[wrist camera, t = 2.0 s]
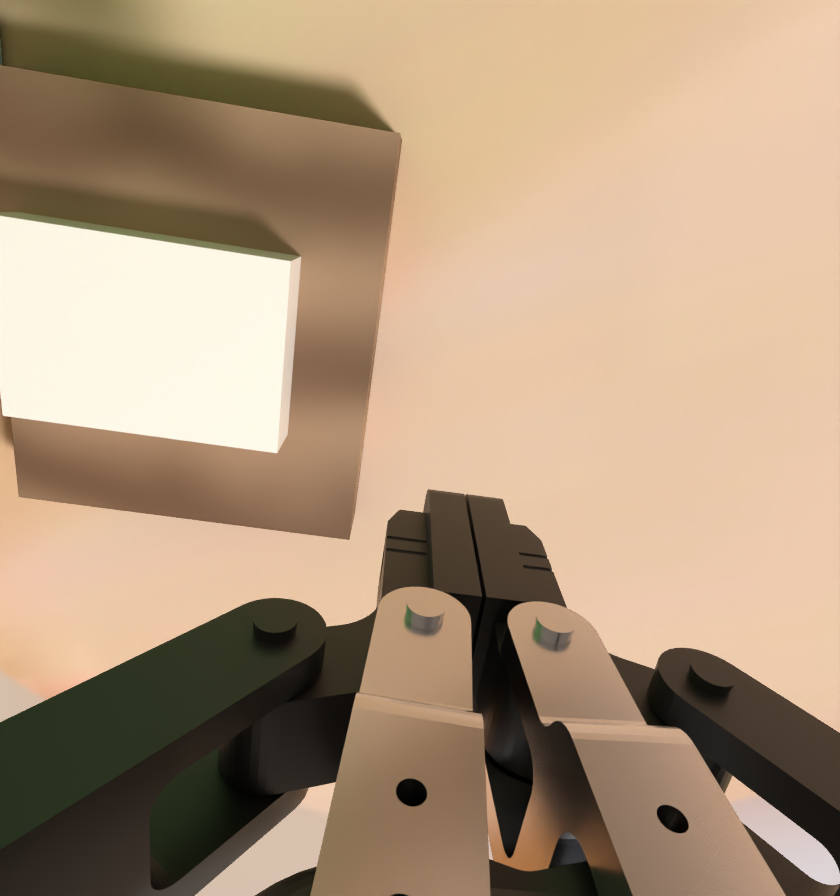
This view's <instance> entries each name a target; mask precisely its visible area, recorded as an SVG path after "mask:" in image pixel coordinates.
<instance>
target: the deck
mask: <svg viewBox="0 0 840 896" xmlns="http://www.w3.org/2000/svg"><path fill="white" fill-rule="evenodd" d="M401 143H402V139H401V134H400V133H396V132H390V131H384V130H378V129H372V128H366V127H361V126H355V125H349V124H343V123H337V122H331V121H325V120H320V119H314V118H308V117H302V116H296V115H290V114H284V113H279V112H273V111H267V110H261V109H255V108H249V107H243V106H238V105H232V104H226V103H220V102H214V101H208V100H202V99H197V98H191V97H185V96H179V95H173V94H167V93H161V92H156V91H150V90H144V89H138V88H132V87H126V86H120V85H115V84H109V83H103V82H97V81H91V80H85V79H79V78H74V77H68V76H62V75H56V74H50V73H44V72H38V71H33V70H27V69H21V68H15V67H9V66H3V65H0V212H22V213H28V214H35V215H41V216H47V217H54V218H60V219H67V220H73V221H79V222H86V223H92V224H98V225H105V226H111V227H118V228H124V229H130V230H137V231H143V232H149V233H156V234H162V235H168V236H175V237H181V238H188V239H194V240H200V241H207V242H213V243H219V244H226V245H232V246H239V247H245V248H251V249H258V250H264V251H270V252H277V253H283V254H290V255H296V256H301V267H300V280H299V293H298V306H297V319H296V332H295V345H294V358H293V371H292V384H291V397H290V410H289V423H288V435H287V437H286V438H285V440H284V442H283V444H282V446H281V447H280V449H279V451H278V453H271V452H263V451H256V450H249V449H242V448H234V447H227V446H220V445H212V444H205V443H198V442H191V441H183V440H176V439H169V438H161V437H154V436H147V435H140V434H132V433H125V432H118V431H110V430H103V429H96V428H89V427H81V426H74V425H67V424H59V423H52V422H45V421H38V420H30V419H23V418H16V417H11V425H12V435H13V445H14V454H15V464H16V474H17V484H18V493H19V497H23V498H31V499H38V500H46V501H54V502H61V503H69V504H77V505H85V506H92V507H100V508H108V509H115V510H123V511H131V512H139V513H146V514H154V515H162V516H169V517H177V518H185V519H193V520H200V521H208V522H216V523H223V524H231V525H239V526H247V527H254V528H262V529H270V530H277V531H285V532H293V533H301V534H308V535H316V536H324V537H331V538H339V539H347V540H349V539H350V534H351V529H352V524H353V519H354V514H355V506H356V498H357V491H358V483H359V475H360V467H361V459H362V451H363V443H364V435H365V427H366V420H367V412H368V404H369V396H370V388H371V380H372V372H373V364H374V356H375V349H376V341H377V333H378V325H379V317H380V309H381V301H382V293H383V285H384V278H385V270H386V262H387V254H388V246H389V238H390V230H391V222H392V214H393V206H394V199H395V191H396V183H397V175H398V167H399V159H400V151H401Z"/></svg>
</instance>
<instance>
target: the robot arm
mask: <svg viewBox="0 0 840 896" xmlns="http://www.w3.org/2000/svg"><path fill="white" fill-rule="evenodd" d="M732 775H733V776H734V777H735V778H737V779H738V780H739V781H741V782H742V783H743V784H745V785H746V786H747V787H748V788H750V789H751V790H752V791H754V792H755V793H756V794H758V795H759V796H760V797H762V798H763V799H764V800H766V801H767V802H768V803H769V804H771V805H772V806H773V807H775V808H776V809H778V810H779V811H780V812H781V813H783V814H784V815H785V816H787V817H788V818H789V819H791V820H792V821H793V822H794V823H796V824H797V825H798V826H800V827H801V828H802V829H804V830H805V831H806V832H807V833H809V834H810V835H812V836H813V837H814V838H816V839H817V840H818V841H819V842H820V843H821V844H822V845H823V846H824V847H825V848H826V849H827V850H828V851H829V852H830V854H831V855H832V857H833V858H834V860H835V861H836V864H837V865H838V868H839V871H840V733H839V732H837V731H836V730H834V729H833V728H831V727H829V726H828V725H826V724H825V723H823V722H821V721H820V720H818V719H817V718H815V717H814V716H812V715H810V714H809V713H807V712H806V711H804V710H803V709H801V708H799V707H798V706H796V705H795V704H793V703H791V702H790V701H788V700H787V699H785V698H784V697H782V696H780V695H779V694H777V693H776V692H774V691H773V690H771V689H769V688H768V687H766V686H765V685H763V684H762V683H760V682H758V681H757V680H755V679H754V678H752V677H750V676H749V675H747V674H746V673H744V672H743V671H741V670H739V669H738V668H736V667H735V666H733V665H732V664H730V663H728V662H726V661H725V660H723V659H721V658H719V657H716V656H714V655H712V654H709V653H706V652H703V651H700V650H695V649H690V648H674V649H669V650H667V651H665V652H664V653H662V654H661V656H660V657H659V659H658V662H657V665H656V668H655V669H652V668H649V667H646V666H643V665H640V664H637V663H634V662H631V661H628V660H625V659H622V658H620V657H617V656H614V655H612V654H610V653H608V652H607V650H606V648H605V646H604V644H603V642H602V640H601V639H600V637H599V635H598V633H597V631H596V630H595V628H594V627H593V626H592V625H591V624H590V623H589V622H588V621H587V620H586V619H585V618H583V617H582V616H580V615H579V614H577V613H576V612H574V611H572V610H570V609H568V608H567V607H566V604H565V602H564V599H563V596H562V594H561V591H560V589H559V586H558V583H557V581H556V578H555V576H554V573H553V572H552V568H551V565H550V562H549V560H548V559H547V555H546V552H545V549H544V547H543V544H542V542H541V540H540V539H539V538H538V537H537V536H536V535H535V534H534V533H533V532H532V531H531V530H529V529H528V528H527V527H526V526H522V525H514V524H510V521H509V518H508V515H507V511H506V508H505V505H504V502H503V500H502V499H498V498H491V497H483V496H475V495H468V494H466V495H464V494H460V493H452V492H444V491H437V490H429V489H428V491H427V495H426V499H425V505H424V511H423V513H421V512H413V511H406V510H399V511H398V512H397V513H396V514H395V515H394V516H393V517H392V518H391V519H390V520H389V521H388V525H387V532H386V538H385V545H384V552H383V559H382V566H381V572H380V579H379V586H378V596H377V607H376V610H375V611H374V612H373V613H371V614H370V615H369V616H367V617H365V618H364V619H361V620H359V621H357V622H353V623H350V624H345V625H338V626H329V627H326V623H325V621H324V619H323V618H322V616H321V615H320V614H319V613H318V612H317V611H316V610H314V609H313V608H311V607H310V606H308V605H306V604H304V603H301V602H298V601H294V600H290V599H283V598H269V599H261V600H256V601H252V602H249V603H247V604H244V605H242V606H240V607H238V608H236V609H234V610H232V611H229V612H227V613H225V614H223V615H221V616H219V617H217V618H215V619H213V620H211V621H209V622H207V623H205V624H203V625H201V626H198V627H196V628H194V629H192V630H190V631H188V632H186V633H184V634H182V635H180V636H178V637H176V638H174V639H172V640H170V641H167V642H165V643H163V644H161V645H159V646H157V647H155V648H153V649H151V650H149V651H147V652H145V653H143V654H141V655H139V656H136V657H134V658H132V659H130V660H128V661H126V662H124V663H122V664H120V665H118V666H116V667H114V668H112V669H110V670H108V671H105V672H103V673H101V674H99V675H97V676H95V677H93V678H91V679H89V680H87V681H85V682H83V683H81V684H79V685H77V686H74V687H72V688H70V689H68V690H66V691H64V692H62V693H60V694H58V695H56V696H54V697H52V698H50V699H48V700H46V701H43V702H41V703H39V704H37V705H35V706H33V707H31V708H29V709H27V710H25V711H23V712H21V713H19V714H17V715H15V716H12V717H10V718H8V719H6V720H4V721H2V722H0V896H194V895H195V894H197V893H198V892H199V891H200V890H201V889H203V888H204V887H205V886H206V885H207V884H208V883H210V882H211V881H212V880H213V879H214V878H215V877H216V876H217V875H219V874H220V873H221V872H222V871H223V870H225V869H226V868H227V867H228V866H229V865H230V864H232V862H234V861H235V860H236V859H237V858H238V857H239V856H241V855H242V854H243V853H244V852H245V851H246V850H248V849H249V848H250V847H251V846H252V845H254V844H255V843H256V842H257V841H258V840H259V839H260V838H262V837H263V836H264V835H265V834H266V833H267V832H268V831H270V830H271V829H272V828H273V827H274V826H276V825H277V824H278V823H279V822H280V821H281V820H282V819H283V818H285V817H286V816H287V815H288V814H289V813H291V812H292V811H293V810H294V809H295V808H296V807H297V806H298V805H299V804H300V803H301V801H302V800H303V799H304V797H305V795H306V793H307V791H308V788H309V787H314V786H319V785H324V784H329V783H333V782H336V784H335V788H334V793H333V797H332V802H331V806H330V811H329V815H328V819H327V824H326V828H325V833H324V837H323V842H322V846H321V850H320V855H319V860H318V864H317V867H314V868H311V869H308V870H304V871H301V872H299V873H296V874H294V875H292V876H290V877H288V878H285V879H283V880H281V881H279V882H277V883H275V884H273V885H271V886H270V887H268V888H266V889H265V890H263V891H262V892H260V893H258V894H257V895H255V896H840V884H838V885H826V884H822V883H820V882H817V881H815V880H814V879H812V878H810V877H809V876H808V875H806V874H805V873H804V872H803V871H801V870H800V869H799V868H798V867H796V866H795V865H794V864H793V863H791V862H790V861H789V860H788V859H786V858H785V857H784V856H783V855H781V854H780V853H779V852H778V851H777V850H775V849H774V848H773V847H772V846H770V845H769V844H767V842H765V841H764V840H763V839H762V838H760V837H759V836H758V835H757V834H756V833H754V832H753V831H752V830H751V829H749V828H748V827H747V826H746V825H744V824H743V823H742V822H741V821H740V819H739V817H738V816H737V814H736V813H735V811H734V809H733V807H732V806H731V804H730V802H729V801H728V799H727V798H726V796H725V794H724V793H725V791H726V789H727V787H728V784H729V782H730V780H731V778H732ZM488 836H489V841H490V846H491V851H492V856H493V860H490V859H489V847H488Z"/></svg>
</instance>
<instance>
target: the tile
mask: <svg viewBox="0 0 840 896" xmlns="http://www.w3.org/2000/svg"><path fill="white" fill-rule="evenodd" d="M300 267H301V256H296V255H290V254H283V253H277V252H270V251H264V250H258V249H251V248H245V247H239V246H232V245H226V244H219V243H213V242H207V241H200V240H194V239H188V238H181V237H175V236H168V235H162V234H156V233H149V232H143V231H137V230H130V229H124V228H118V227H111V226H105V225H98V224H92V223H86V222H79V221H73V220H67V219H60V218H54V217H47V216H41V215H35V214H28V213H22V212H0V395H1V404H2V413H3V416H8V417H16V418H23V419H30V420H38V421H45V422H52V423H59V424H67V425H74V426H81V427H89V428H96V429H103V430H110V431H118V432H125V433H132V434H140V435H147V436H154V437H161V438H169V439H176V440H183V441H191V442H198V443H205V444H212V445H220V446H227V447H234V448H242V449H249V450H256V451H263V452H271V453H278V451H279V449H280V447H281V446H282V444H283V442H284V440H285V438H286V437H287V435H288V423H289V410H290V397H291V384H292V371H293V358H294V345H295V332H296V319H297V306H298V293H299V280H300Z"/></svg>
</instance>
